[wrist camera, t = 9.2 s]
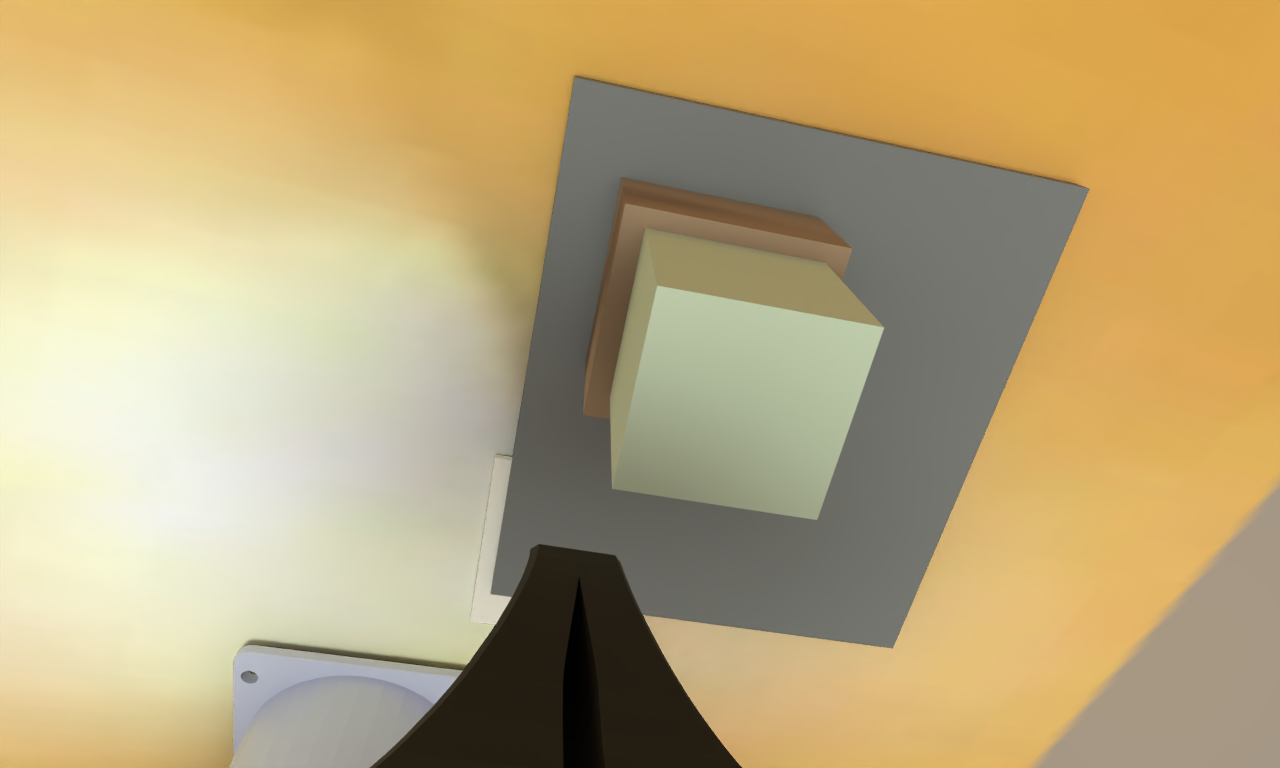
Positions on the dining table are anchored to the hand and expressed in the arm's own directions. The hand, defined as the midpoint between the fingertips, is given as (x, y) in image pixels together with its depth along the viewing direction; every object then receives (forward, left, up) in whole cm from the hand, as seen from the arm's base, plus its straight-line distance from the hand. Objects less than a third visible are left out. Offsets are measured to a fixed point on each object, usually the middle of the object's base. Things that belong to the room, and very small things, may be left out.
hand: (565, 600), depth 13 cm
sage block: (+3, -3, -7) cm, 8 cm away
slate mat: (0, -5, -10) cm, 11 cm away
